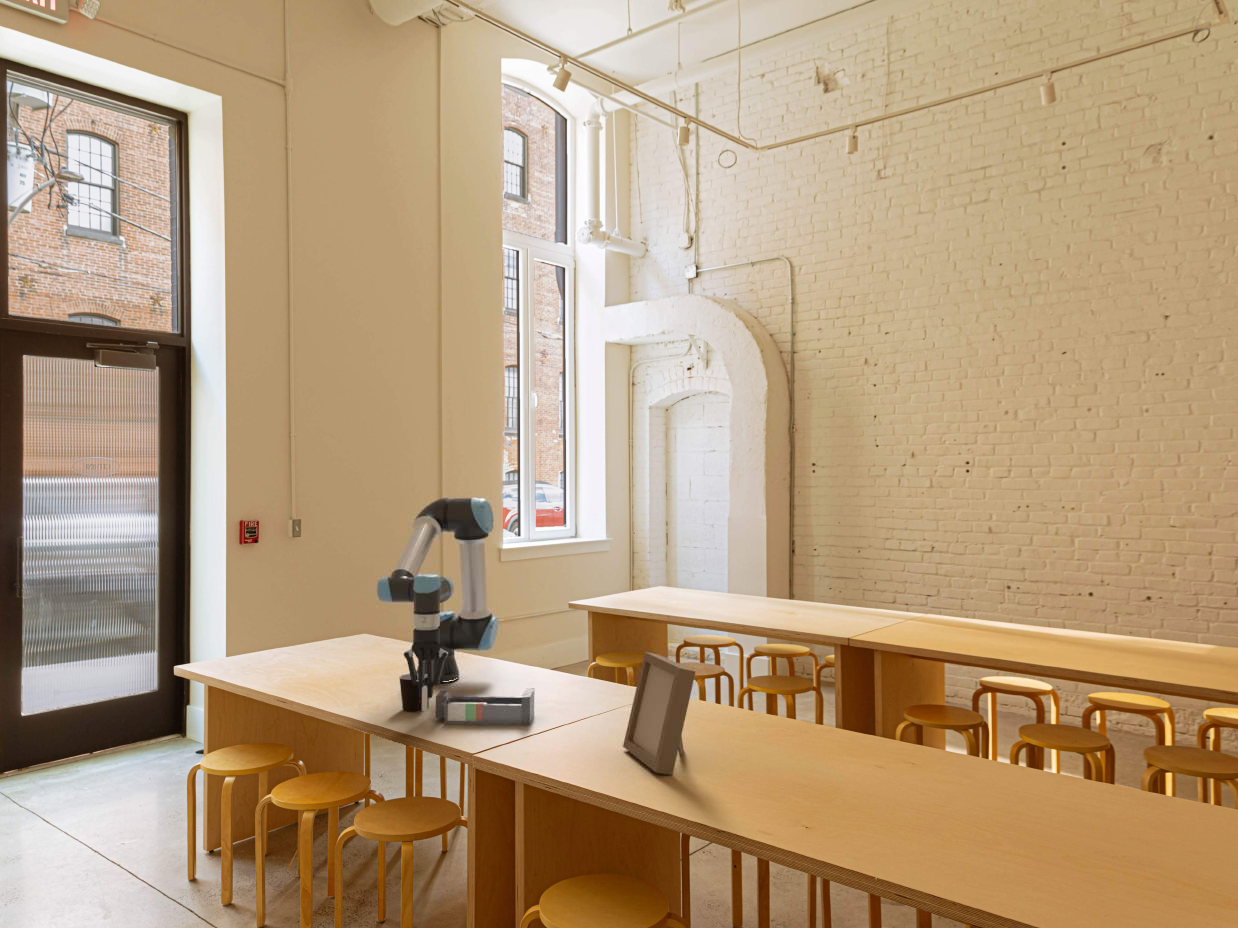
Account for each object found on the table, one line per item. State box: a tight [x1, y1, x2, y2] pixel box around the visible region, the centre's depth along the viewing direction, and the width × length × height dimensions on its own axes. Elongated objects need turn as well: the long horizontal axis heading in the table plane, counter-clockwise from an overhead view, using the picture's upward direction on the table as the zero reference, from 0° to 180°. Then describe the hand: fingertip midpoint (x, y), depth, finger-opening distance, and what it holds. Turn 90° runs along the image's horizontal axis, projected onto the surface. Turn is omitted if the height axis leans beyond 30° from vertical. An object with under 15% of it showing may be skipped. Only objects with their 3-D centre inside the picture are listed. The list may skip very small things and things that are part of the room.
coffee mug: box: [399, 673, 427, 713], centre depth 263 cm, size 12×9×10 cm
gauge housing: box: [443, 687, 535, 727], centre depth 250 cm, size 11×24×8 cm, turn 89°
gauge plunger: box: [435, 690, 487, 718], centre depth 249 cm, size 10×14×6 cm
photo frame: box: [622, 651, 697, 776], centre depth 215 cm, size 15×22×25 cm
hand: (425, 708), depth 251 cm, fingers closed
